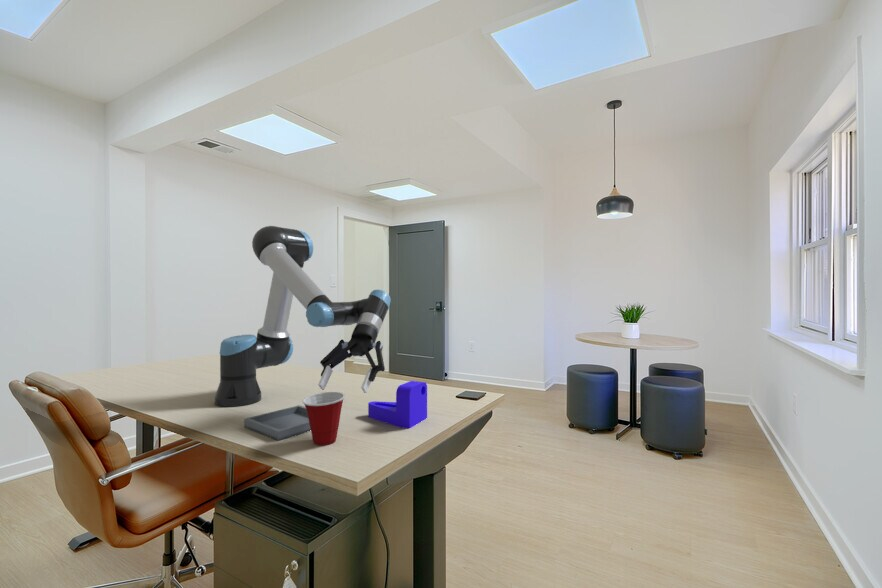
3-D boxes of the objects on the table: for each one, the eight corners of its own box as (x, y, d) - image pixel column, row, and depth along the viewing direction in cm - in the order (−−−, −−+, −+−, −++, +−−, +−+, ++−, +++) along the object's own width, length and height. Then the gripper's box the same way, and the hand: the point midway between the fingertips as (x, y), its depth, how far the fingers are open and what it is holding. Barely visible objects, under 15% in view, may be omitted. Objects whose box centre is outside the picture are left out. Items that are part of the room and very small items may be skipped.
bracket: (427, 418, 128) (427, 381, 128) (409, 429, 118) (409, 388, 118) (379, 411, 136) (379, 375, 136) (359, 420, 126) (359, 382, 126)
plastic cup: (295, 441, 108) (295, 395, 108) (333, 431, 115) (332, 389, 115) (313, 453, 100) (313, 404, 100) (352, 442, 107) (352, 396, 107)
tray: (244, 427, 119) (244, 418, 119) (299, 412, 133) (299, 405, 133) (278, 440, 108) (278, 431, 108) (334, 423, 122) (334, 415, 122)
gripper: (406, 339, 128) (386, 399, 113) (336, 336, 135) (309, 393, 121) (400, 323, 122) (378, 384, 108) (327, 322, 130) (298, 378, 116)
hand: (342, 389), depth 114 cm, fingers open, 13 cm apart
